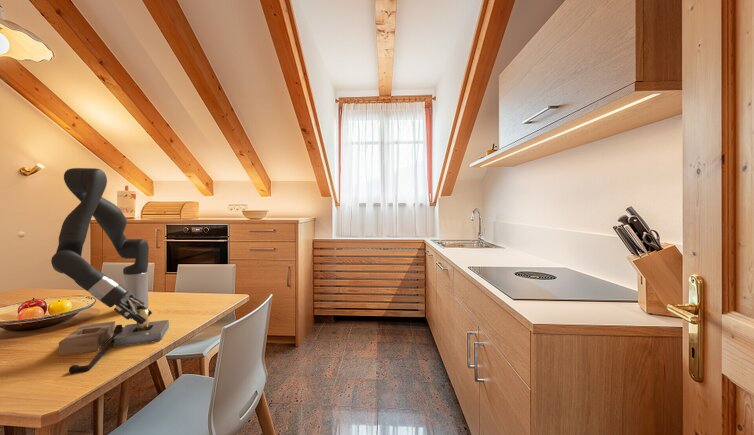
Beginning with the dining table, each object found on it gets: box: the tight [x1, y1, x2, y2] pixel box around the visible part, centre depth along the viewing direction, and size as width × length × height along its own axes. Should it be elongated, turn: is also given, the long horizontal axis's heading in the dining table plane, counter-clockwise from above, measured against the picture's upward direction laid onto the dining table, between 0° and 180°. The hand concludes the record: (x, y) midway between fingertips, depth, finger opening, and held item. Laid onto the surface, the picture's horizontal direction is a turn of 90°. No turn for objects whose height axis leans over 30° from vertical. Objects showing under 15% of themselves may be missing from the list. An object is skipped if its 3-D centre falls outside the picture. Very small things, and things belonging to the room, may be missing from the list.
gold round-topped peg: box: [136, 308, 150, 332], centre depth 121 cm, size 4×4×10 cm
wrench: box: [68, 324, 125, 374], centre depth 109 cm, size 5×5×30 cm
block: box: [113, 319, 170, 348], centre depth 122 cm, size 14×14×3 cm
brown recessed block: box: [58, 320, 116, 357], centre depth 115 cm, size 17×10×4 cm, turn 23°
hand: (147, 318), depth 122 cm, fingers open, 8 cm apart
